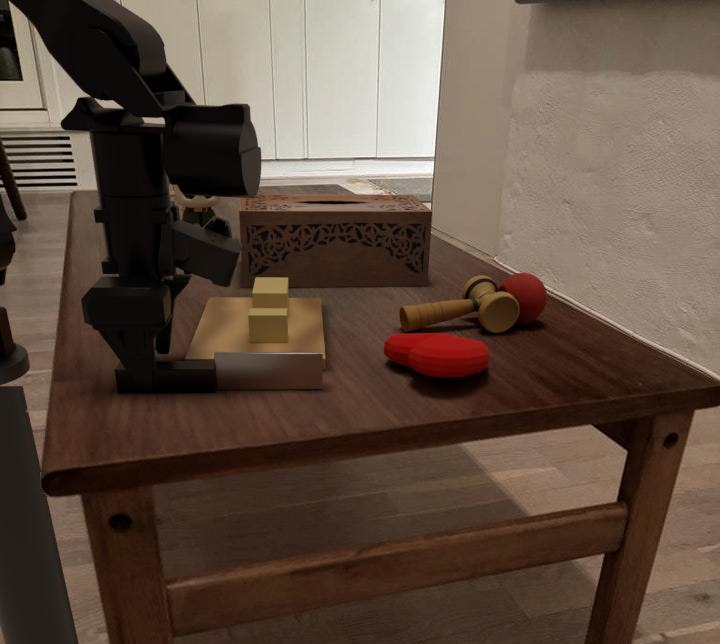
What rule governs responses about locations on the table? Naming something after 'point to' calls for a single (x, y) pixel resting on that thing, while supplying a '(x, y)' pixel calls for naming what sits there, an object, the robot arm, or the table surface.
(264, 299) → the butter block
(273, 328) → the butter slice
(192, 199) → the character mug
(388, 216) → the tissue box cover
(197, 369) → the knife
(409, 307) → the kendama
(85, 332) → the table surface
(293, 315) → the board
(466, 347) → the heart
